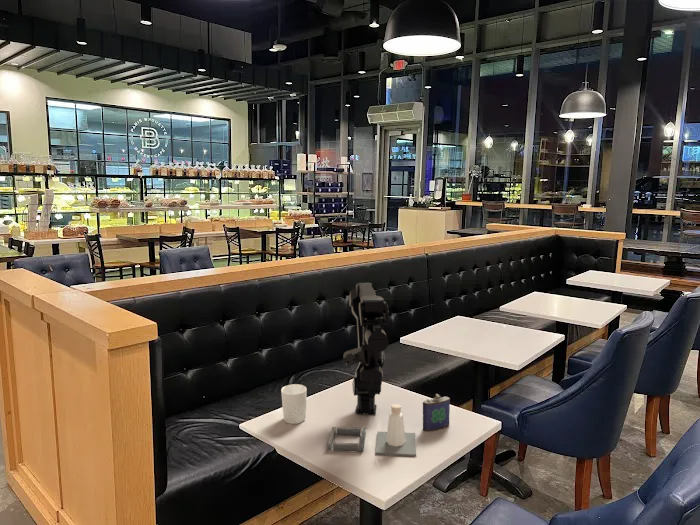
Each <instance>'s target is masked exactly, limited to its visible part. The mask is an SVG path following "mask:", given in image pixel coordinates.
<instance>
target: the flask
mask: <svg viewBox="0 0 700 525" xmlns="http://www.w3.org/2000/svg"><path fill="white" fill-rule="evenodd" d="M450 400H451V398H450V397H448V396H443V397H442V396H441V395H440V394H438V393H435V397H433V398H432V399H431V398H430V399H428V398H427V399H425V400H424V401H423V402H422V431H423V432H426V433H429V432H434V431H436V432H437V431H439V430H442V429H446V428H448V427H449V426H450V407H451V406H450V405H451V404H450V403H451V402H450Z"/></svg>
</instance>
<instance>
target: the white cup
mask: <svg viewBox="0 0 700 525" xmlns="http://www.w3.org/2000/svg"><path fill="white" fill-rule="evenodd" d="M280 391H281V392H280V394H281V403H282V404H281V406H282V411H283V413H282V414H283V420H284V422H285V423H287V424H291V425H294V424H296V425H297V424H298V425H299V424H301V423H303V422H304V421H305V420H306V417H307V416H306V413H307V412H306V411H307V394H308V393H307V387H306V386H305V385H303V384H297V383H294V384H288V385H285V386H282V388H281V389H280Z"/></svg>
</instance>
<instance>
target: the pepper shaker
mask: <svg viewBox="0 0 700 525" xmlns="http://www.w3.org/2000/svg"><path fill="white" fill-rule="evenodd" d="M390 407H391V410H390V411H391V412H390V413H389V415H388V421H387V422H388V423H387V431H386V432H387V439H386V441H387V443H388V444H389V445H391V446H395V447H397V446H402V445H403V444H404V443H405V433H406V432H405V425H404V423H405V422H404V415H403V413H402V412H401V411H402V409H401V408H402V406H401V404H399V403H393V404H391V406H390Z"/></svg>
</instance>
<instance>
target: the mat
mask: <svg viewBox="0 0 700 525" xmlns="http://www.w3.org/2000/svg"><path fill="white" fill-rule="evenodd" d="M404 433H405V443H404V444H403V445H402V446H397V447H395V446H391V445H389V444H388V443H387V441H386V439H387V431H379V430H378V431H377V434H376V435H377V437H376V448H375V455H378V456H397V457H398V456H399V457H417V446H416V445H417V443H416V433H415V432H404Z"/></svg>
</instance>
